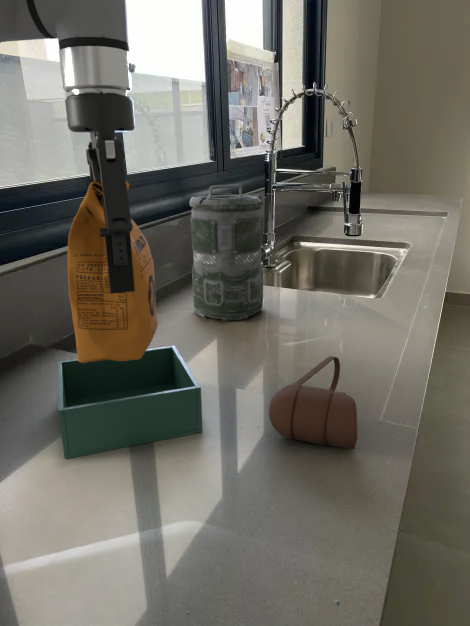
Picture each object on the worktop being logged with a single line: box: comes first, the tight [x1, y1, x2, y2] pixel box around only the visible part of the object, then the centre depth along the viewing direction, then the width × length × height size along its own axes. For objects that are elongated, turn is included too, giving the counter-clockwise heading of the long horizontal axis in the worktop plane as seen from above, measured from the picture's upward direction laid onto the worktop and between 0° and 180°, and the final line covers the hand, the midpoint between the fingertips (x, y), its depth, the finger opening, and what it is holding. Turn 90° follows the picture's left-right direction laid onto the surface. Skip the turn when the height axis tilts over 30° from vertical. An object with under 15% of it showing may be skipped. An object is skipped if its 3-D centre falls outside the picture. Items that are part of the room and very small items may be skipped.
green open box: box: [56, 345, 204, 460], centre depth 68 cm, size 17×15×6 cm
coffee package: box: [67, 180, 158, 363], centre depth 63 cm, size 10×12×22 cm
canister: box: [189, 184, 264, 322], centre depth 109 cm, size 16×16×28 cm
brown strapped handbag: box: [268, 355, 358, 450], centre depth 67 cm, size 18×12×7 cm, turn 157°
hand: (116, 279), depth 63 cm, fingers closed on coffee package, 12 cm apart
